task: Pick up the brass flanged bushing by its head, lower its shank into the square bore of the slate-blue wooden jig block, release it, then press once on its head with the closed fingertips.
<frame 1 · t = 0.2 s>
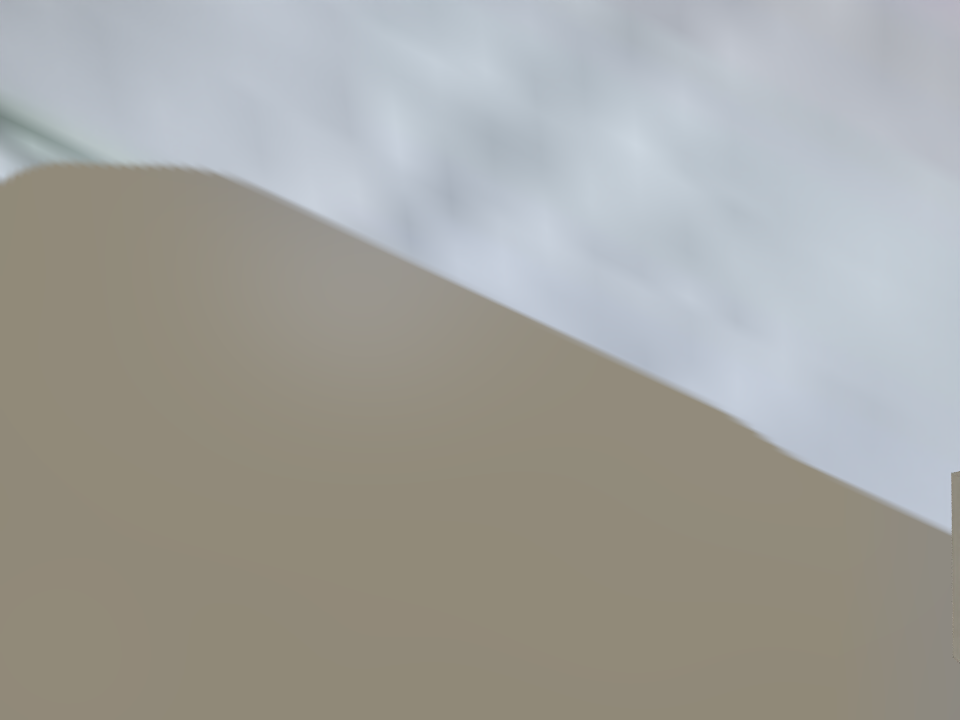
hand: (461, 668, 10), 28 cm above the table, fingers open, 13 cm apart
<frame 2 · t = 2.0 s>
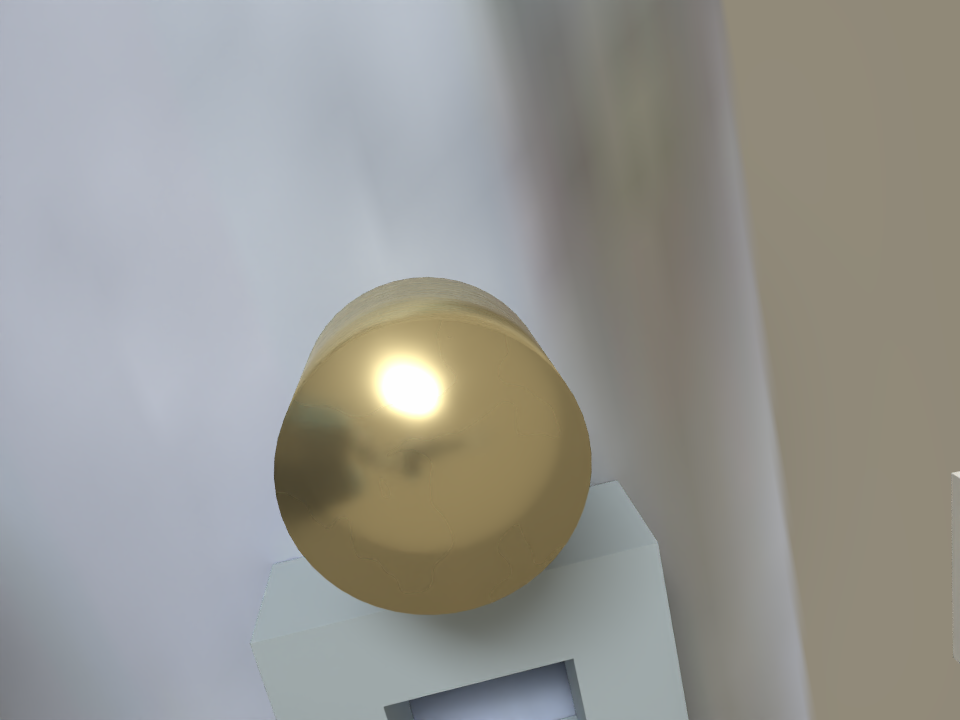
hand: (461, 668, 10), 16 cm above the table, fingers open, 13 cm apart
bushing: (421, 350, 26), on the table
jig: (483, 669, 29), on the table
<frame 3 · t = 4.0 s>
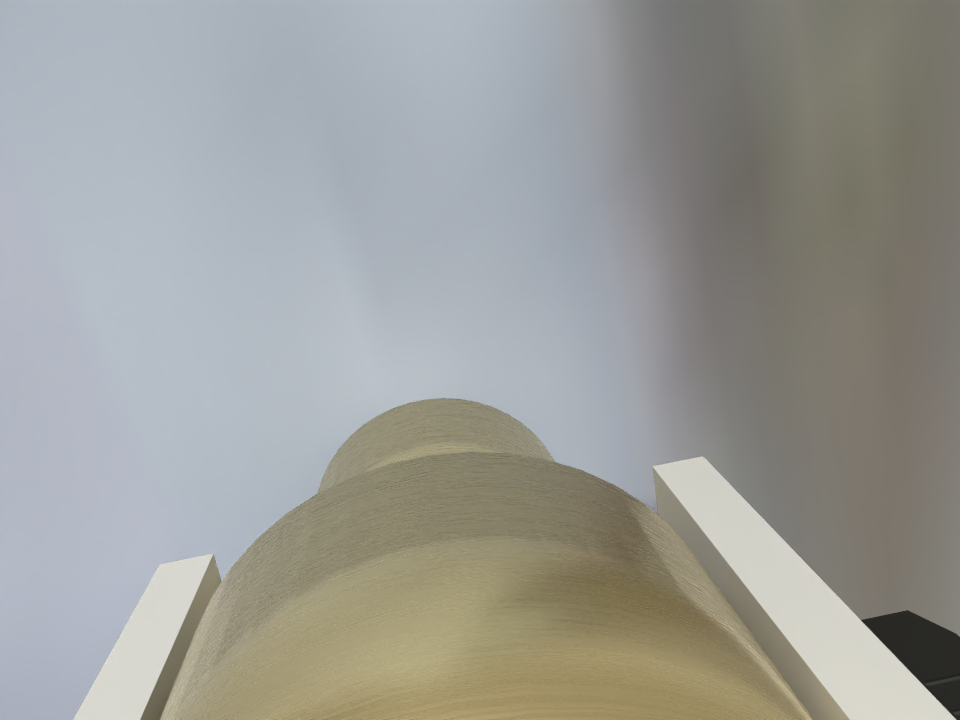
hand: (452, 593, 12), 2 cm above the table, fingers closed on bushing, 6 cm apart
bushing: (442, 518, 14), on the table, touching gripper
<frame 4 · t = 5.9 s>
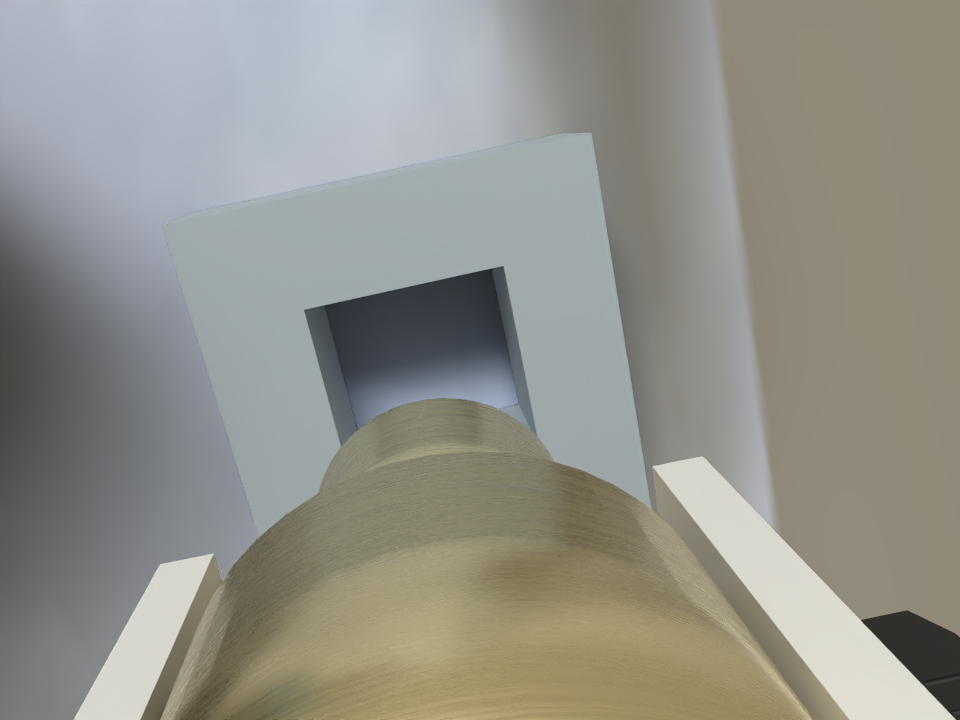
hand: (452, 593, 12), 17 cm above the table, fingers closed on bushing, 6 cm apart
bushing: (442, 517, 14), point 14 cm above the table, touching gripper
jig: (422, 345, 28), on the table
when the fingers open (5 cm above the table, at t = 7.9 s): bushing drops 3 cm, resting in jig.
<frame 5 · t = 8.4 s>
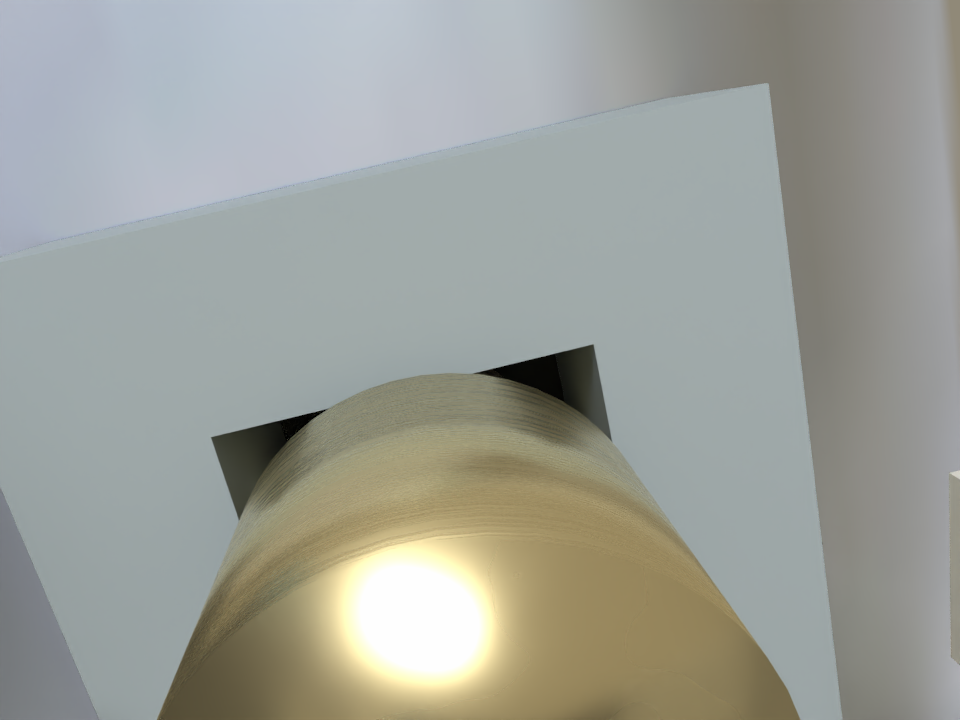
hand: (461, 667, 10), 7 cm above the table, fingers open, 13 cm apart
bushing: (434, 453, 17), resting in jig
jig: (435, 454, 17), on the table
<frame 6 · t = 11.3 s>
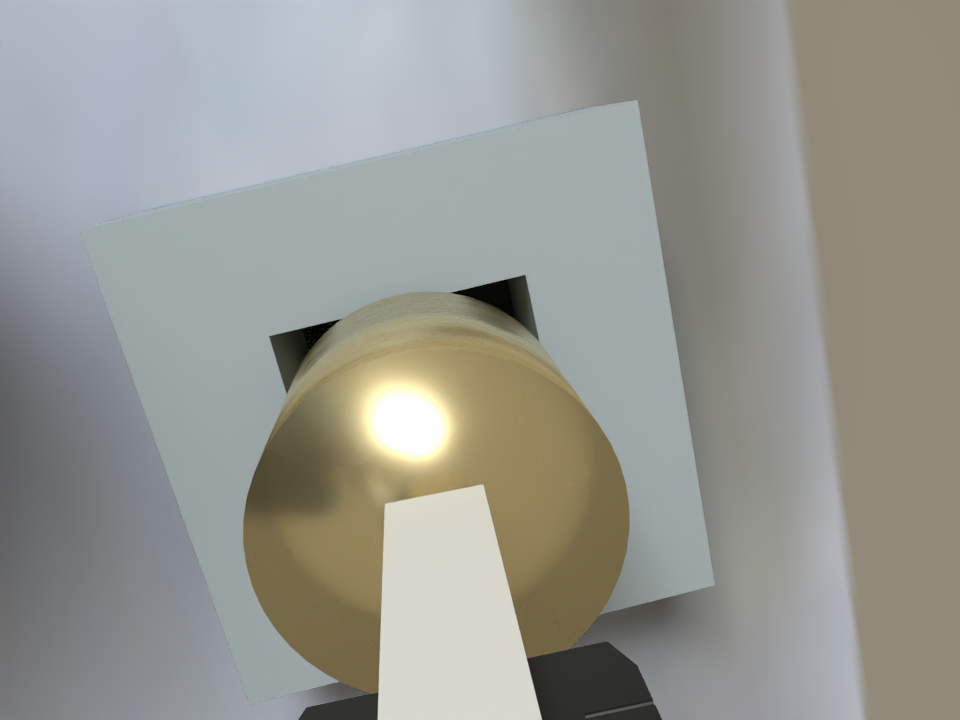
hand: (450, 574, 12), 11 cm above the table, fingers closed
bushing: (421, 371, 23), resting in jig
jig: (422, 371, 23), on the table
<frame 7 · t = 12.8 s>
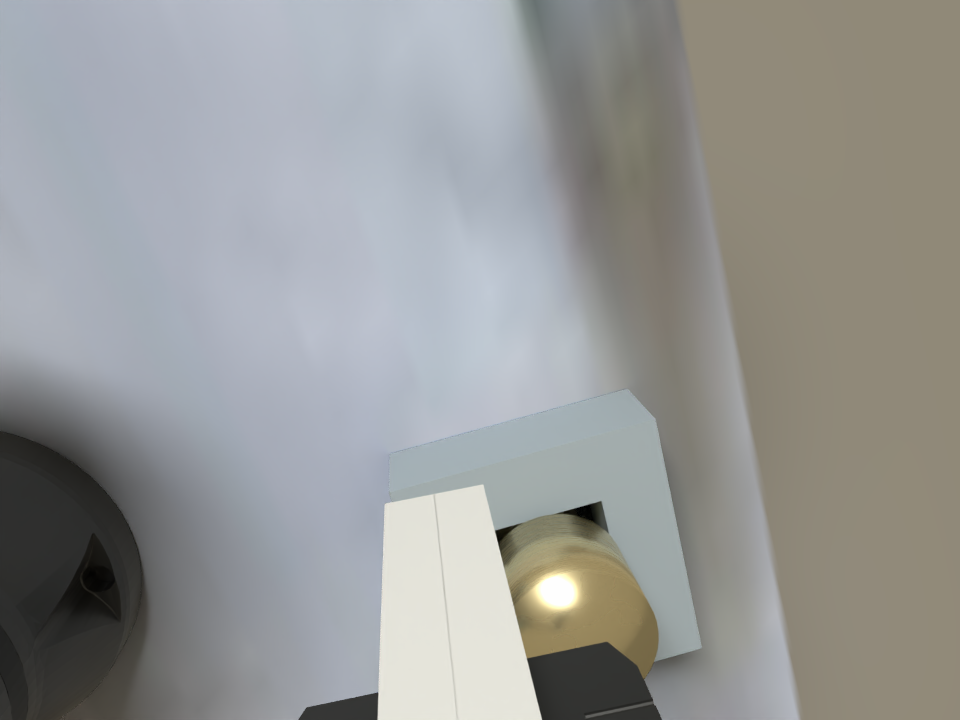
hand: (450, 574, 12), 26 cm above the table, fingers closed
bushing: (536, 528, 41), resting in jig
jig: (536, 528, 41), on the table
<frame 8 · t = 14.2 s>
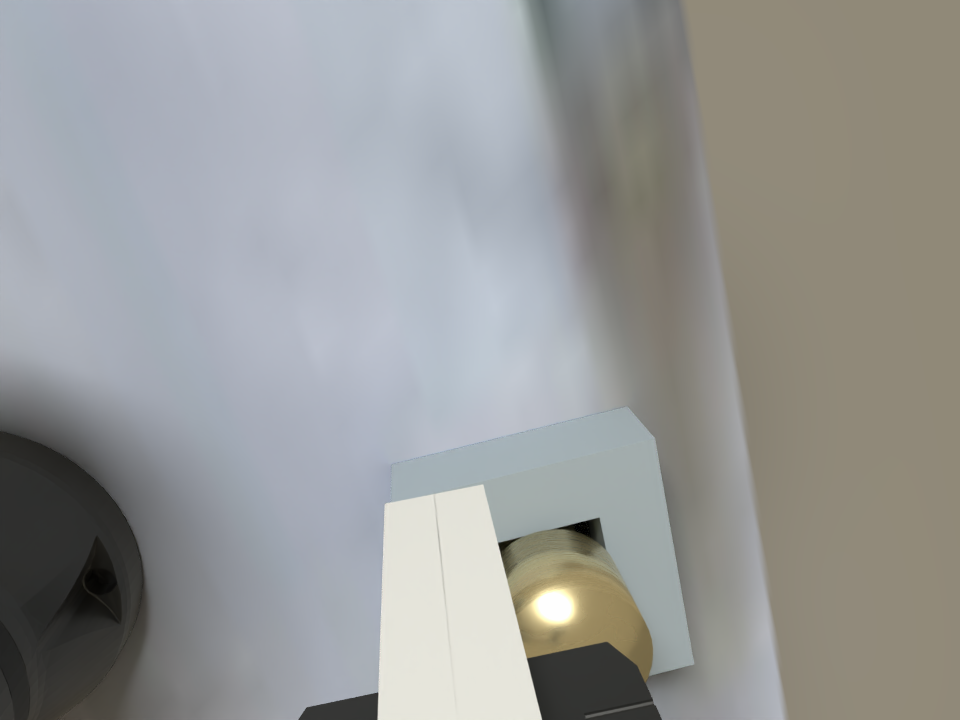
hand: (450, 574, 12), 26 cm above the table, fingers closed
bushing: (533, 541, 42), resting in jig
jig: (534, 541, 42), on the table
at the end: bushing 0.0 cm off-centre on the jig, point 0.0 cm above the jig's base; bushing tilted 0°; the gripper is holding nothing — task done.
